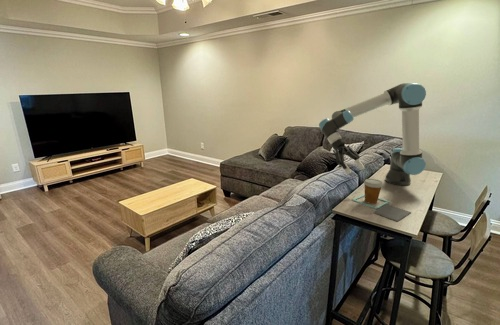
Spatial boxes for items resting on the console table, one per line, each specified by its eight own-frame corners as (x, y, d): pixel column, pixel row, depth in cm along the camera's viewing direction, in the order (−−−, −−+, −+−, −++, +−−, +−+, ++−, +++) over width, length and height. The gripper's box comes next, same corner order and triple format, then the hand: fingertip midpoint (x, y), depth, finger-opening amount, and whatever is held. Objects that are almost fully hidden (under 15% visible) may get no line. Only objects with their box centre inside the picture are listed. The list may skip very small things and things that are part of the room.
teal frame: (365, 194, 158) (365, 193, 158) (389, 202, 147) (390, 201, 147) (351, 200, 149) (352, 199, 149) (376, 209, 138) (376, 208, 138)
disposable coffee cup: (384, 203, 145) (387, 183, 142) (369, 205, 142) (372, 185, 139) (371, 197, 154) (374, 177, 150) (357, 199, 151) (360, 179, 148)
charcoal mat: (387, 205, 143) (387, 204, 143) (410, 213, 134) (411, 212, 134) (372, 212, 135) (373, 211, 134) (397, 221, 125) (397, 220, 125)
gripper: (344, 142, 169) (363, 170, 162) (319, 147, 155) (339, 178, 147) (352, 135, 164) (372, 164, 157) (327, 140, 149) (348, 171, 142)
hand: (356, 171), depth 152 cm, fingers open, 13 cm apart
